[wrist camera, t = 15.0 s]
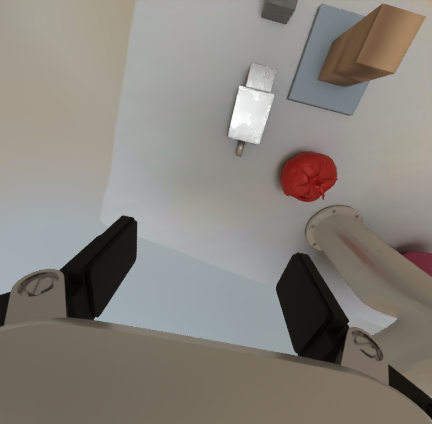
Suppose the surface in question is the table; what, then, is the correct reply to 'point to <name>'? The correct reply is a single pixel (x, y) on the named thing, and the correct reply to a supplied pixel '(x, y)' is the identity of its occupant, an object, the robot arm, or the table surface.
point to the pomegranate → (308, 176)
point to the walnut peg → (371, 47)
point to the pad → (314, 59)
